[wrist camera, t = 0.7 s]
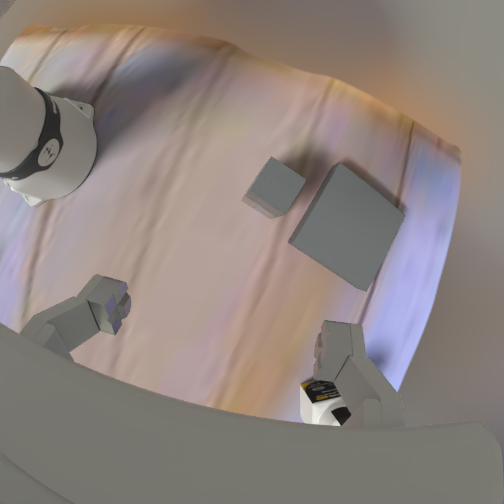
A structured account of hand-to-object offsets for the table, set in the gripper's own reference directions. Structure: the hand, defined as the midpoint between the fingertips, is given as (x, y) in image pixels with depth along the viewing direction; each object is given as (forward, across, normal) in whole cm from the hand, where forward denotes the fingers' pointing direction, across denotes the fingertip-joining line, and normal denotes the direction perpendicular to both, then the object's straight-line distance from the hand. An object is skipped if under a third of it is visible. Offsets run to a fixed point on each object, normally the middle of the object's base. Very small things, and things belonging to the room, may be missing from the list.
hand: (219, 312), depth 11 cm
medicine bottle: (+18, -13, +37) cm, 43 cm away
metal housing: (+32, +1, +9) cm, 33 cm away
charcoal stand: (+33, -12, +13) cm, 37 cm away
